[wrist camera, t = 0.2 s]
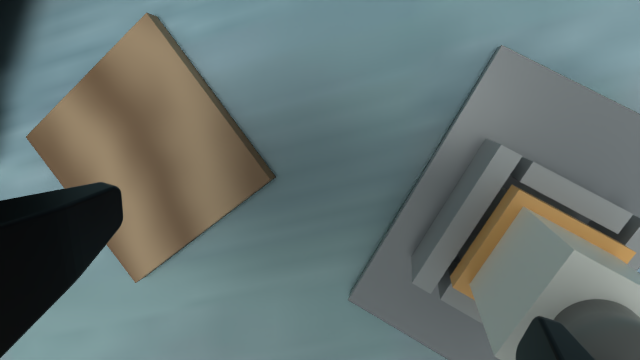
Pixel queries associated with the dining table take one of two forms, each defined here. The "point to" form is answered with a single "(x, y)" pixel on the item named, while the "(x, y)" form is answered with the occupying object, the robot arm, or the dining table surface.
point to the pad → (151, 146)
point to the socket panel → (486, 181)
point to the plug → (549, 278)
